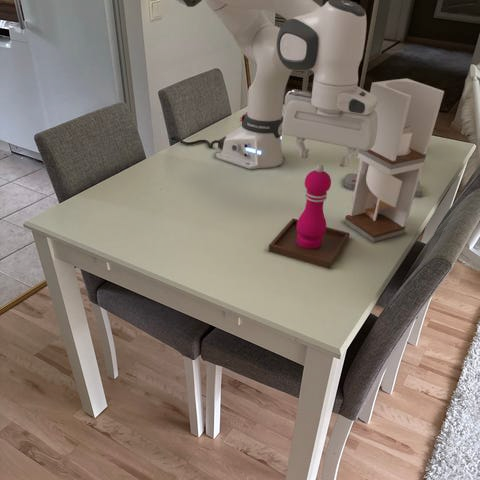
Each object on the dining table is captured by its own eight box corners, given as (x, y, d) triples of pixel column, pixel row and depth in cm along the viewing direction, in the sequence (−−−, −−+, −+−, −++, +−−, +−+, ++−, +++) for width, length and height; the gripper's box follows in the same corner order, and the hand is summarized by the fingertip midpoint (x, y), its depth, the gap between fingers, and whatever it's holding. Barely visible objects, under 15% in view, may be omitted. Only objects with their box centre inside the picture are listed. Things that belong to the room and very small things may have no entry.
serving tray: (268, 251, 119) (269, 244, 118) (292, 224, 130) (292, 218, 129) (329, 268, 114) (330, 262, 113) (348, 239, 125) (349, 232, 124)
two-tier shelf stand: (344, 222, 132) (372, 82, 109) (374, 214, 136) (406, 78, 114) (372, 242, 124) (408, 96, 102) (403, 233, 128) (444, 91, 106)
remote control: (420, 197, 146) (422, 190, 144) (344, 188, 148) (345, 181, 147) (417, 186, 152) (419, 179, 150) (344, 177, 154) (346, 171, 153)
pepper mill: (327, 239, 123) (340, 162, 110) (318, 253, 118) (331, 173, 105) (300, 232, 125) (310, 156, 112) (290, 245, 120) (299, 167, 107)
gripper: (280, 91, 100) (275, 157, 109) (378, 107, 94) (364, 176, 103) (291, 84, 105) (285, 148, 114) (385, 99, 98) (371, 165, 107)
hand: (323, 161), depth 108 cm, fingers open, 8 cm apart
